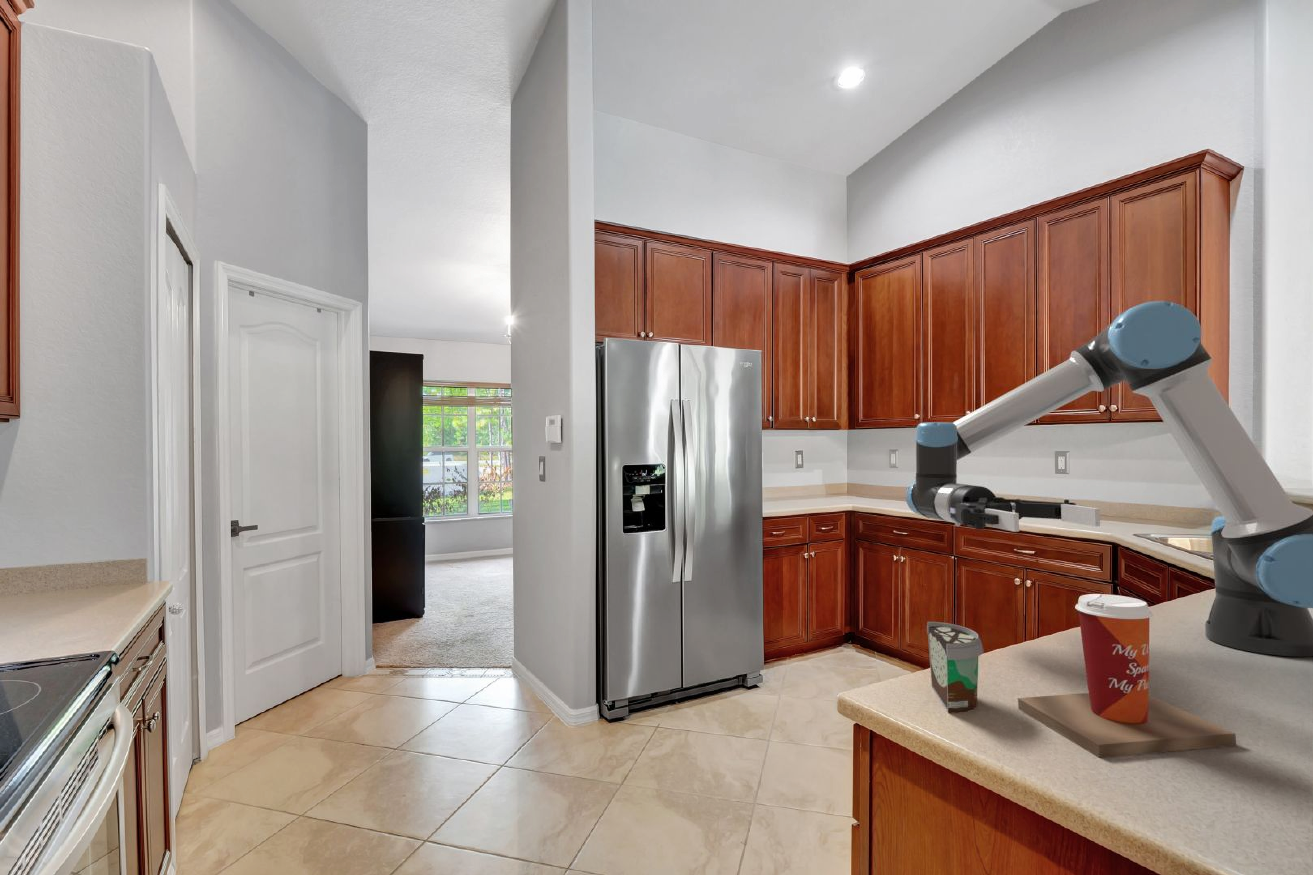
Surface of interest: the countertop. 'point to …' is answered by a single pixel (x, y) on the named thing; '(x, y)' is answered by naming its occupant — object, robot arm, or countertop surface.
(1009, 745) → the countertop surface
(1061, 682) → the countertop surface
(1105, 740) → the walnut board
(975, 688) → the food container
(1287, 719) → the countertop surface
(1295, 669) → the countertop surface
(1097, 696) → the coffee cup
